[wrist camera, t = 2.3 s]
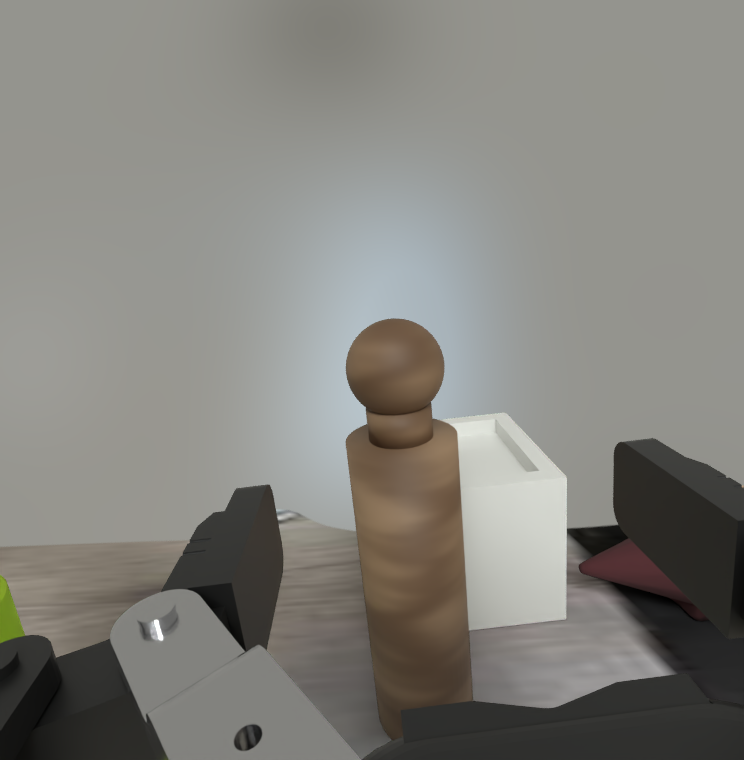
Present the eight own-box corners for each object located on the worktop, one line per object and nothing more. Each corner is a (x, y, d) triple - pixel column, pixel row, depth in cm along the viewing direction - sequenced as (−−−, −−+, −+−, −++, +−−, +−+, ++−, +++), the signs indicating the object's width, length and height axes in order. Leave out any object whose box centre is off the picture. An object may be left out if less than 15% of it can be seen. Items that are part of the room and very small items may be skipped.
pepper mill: (381, 758, 25) (328, 335, 19) (375, 672, 30) (333, 317, 24) (484, 746, 25) (462, 321, 19) (461, 662, 30) (439, 306, 24)
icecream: (628, 579, 26) (883, 558, 28) (565, 485, 33) (774, 472, 34) (596, 659, 29) (825, 636, 31) (545, 559, 36) (736, 544, 37)
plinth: (383, 640, 32) (367, 499, 29) (374, 536, 44) (362, 428, 41) (566, 619, 32) (566, 477, 30) (508, 521, 44) (505, 412, 41)
